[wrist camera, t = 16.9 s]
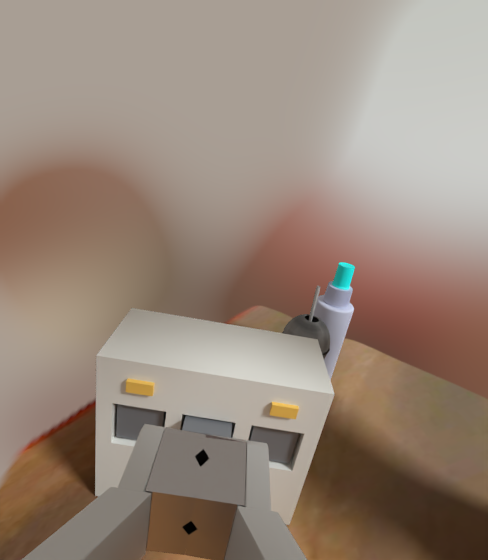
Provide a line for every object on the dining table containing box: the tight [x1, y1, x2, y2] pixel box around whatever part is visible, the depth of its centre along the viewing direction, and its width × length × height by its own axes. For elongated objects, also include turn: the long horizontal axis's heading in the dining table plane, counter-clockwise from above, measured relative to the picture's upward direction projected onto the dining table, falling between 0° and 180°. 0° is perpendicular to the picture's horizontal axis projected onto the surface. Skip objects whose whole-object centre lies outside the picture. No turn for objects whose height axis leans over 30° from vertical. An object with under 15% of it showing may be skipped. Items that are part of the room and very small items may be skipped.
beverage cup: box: [282, 286, 330, 359], centre depth 51 cm, size 7×7×20 cm
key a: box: [116, 404, 166, 440], centre depth 34 cm, size 4×4×4 cm
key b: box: [248, 425, 299, 464], centre depth 35 cm, size 4×4×4 cm
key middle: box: [182, 415, 232, 438], centre depth 33 cm, size 4×4×4 cm
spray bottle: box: [313, 262, 355, 380], centre depth 57 cm, size 6×6×22 cm
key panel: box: [95, 308, 335, 525], centre depth 37 cm, size 21×9×18 cm, turn 88°
